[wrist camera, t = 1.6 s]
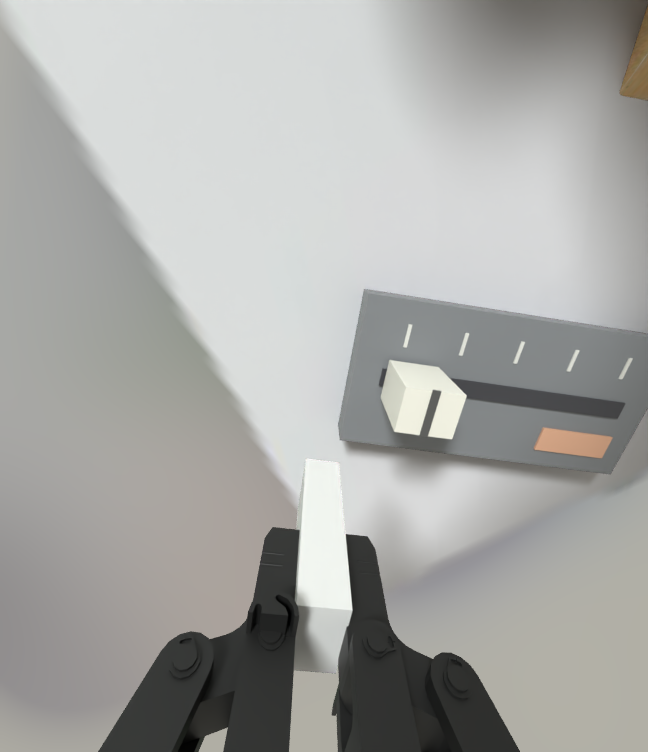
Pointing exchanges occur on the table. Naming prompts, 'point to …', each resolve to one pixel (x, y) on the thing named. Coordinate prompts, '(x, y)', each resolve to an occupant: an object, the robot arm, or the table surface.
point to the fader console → (502, 382)
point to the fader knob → (421, 400)
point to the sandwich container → (638, 66)
